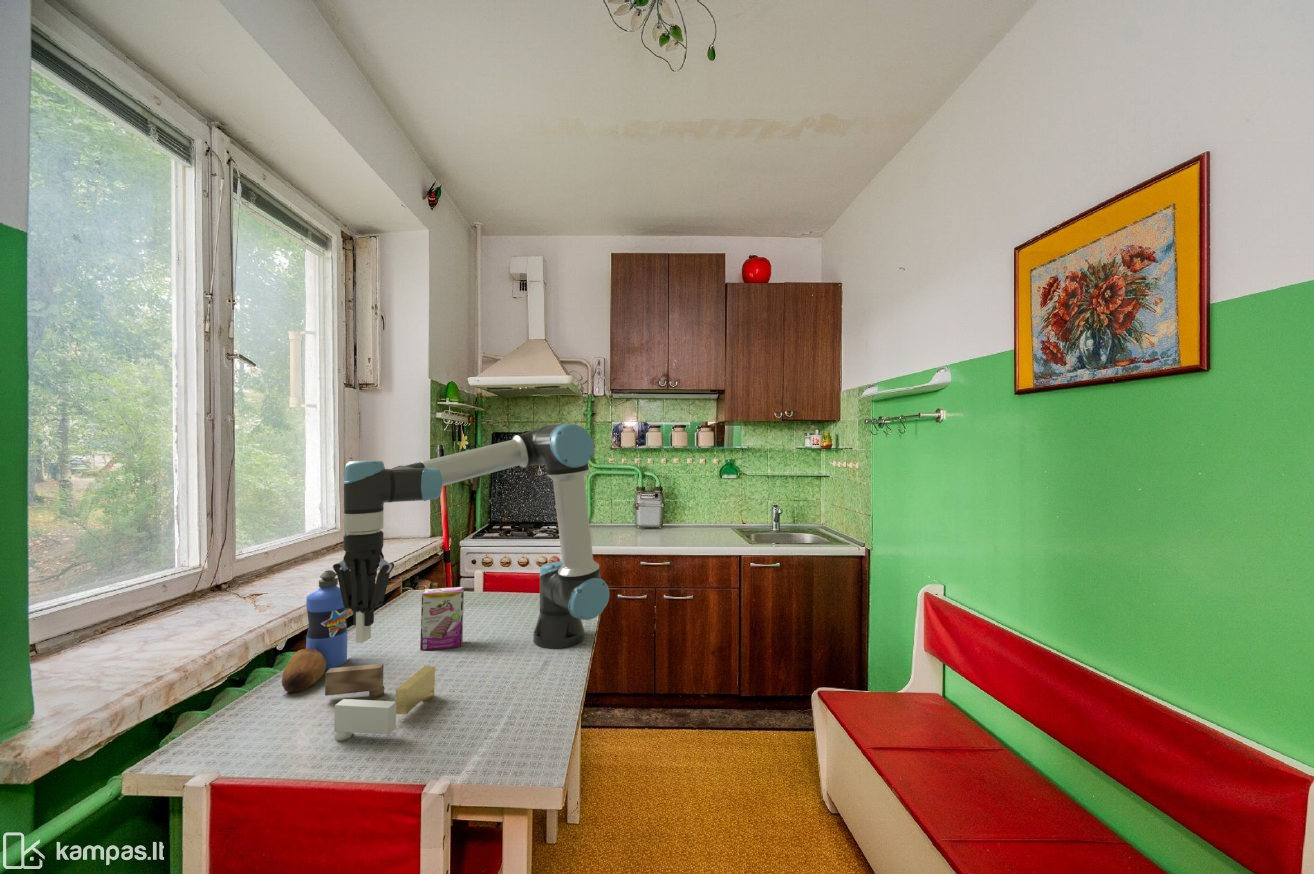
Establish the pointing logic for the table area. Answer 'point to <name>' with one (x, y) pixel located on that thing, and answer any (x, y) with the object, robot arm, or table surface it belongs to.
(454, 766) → the table surface
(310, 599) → the water bottle
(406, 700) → the lever
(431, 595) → the candy bar box
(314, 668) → the potato
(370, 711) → the light grey boxy piece
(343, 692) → the lever
